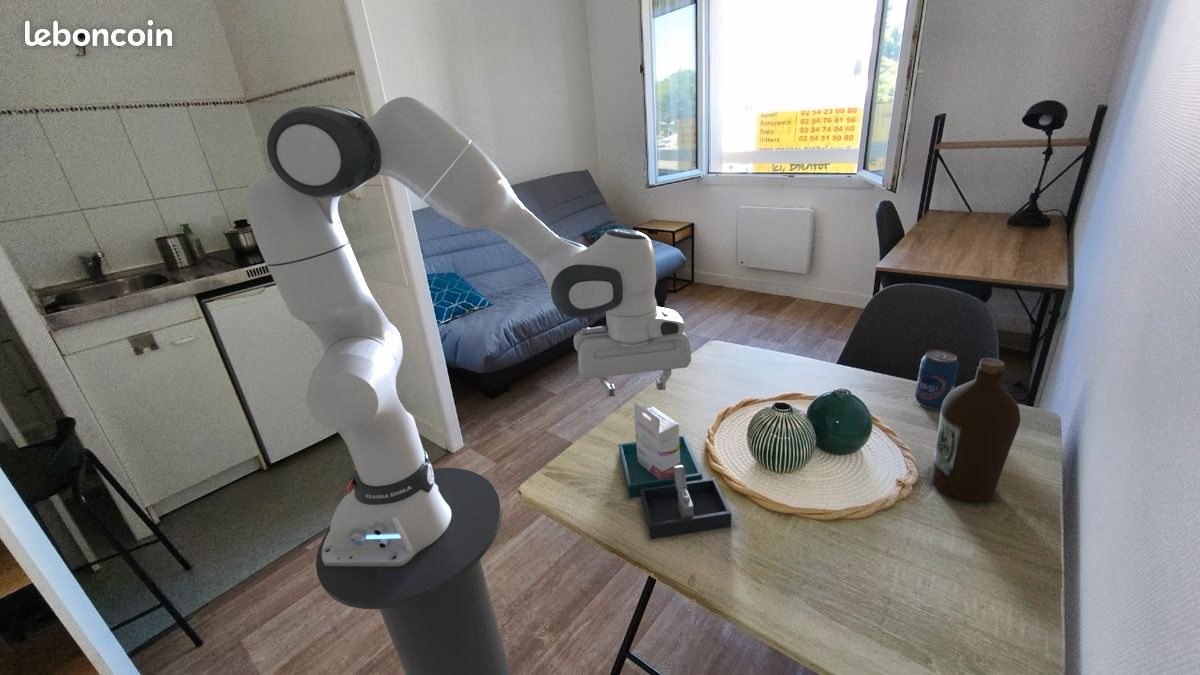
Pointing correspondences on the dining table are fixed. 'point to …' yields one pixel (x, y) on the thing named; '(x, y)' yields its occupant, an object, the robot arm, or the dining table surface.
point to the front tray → (665, 513)
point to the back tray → (643, 478)
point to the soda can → (936, 378)
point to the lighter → (682, 493)
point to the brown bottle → (975, 435)
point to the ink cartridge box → (656, 441)
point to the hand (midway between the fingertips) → (635, 391)
